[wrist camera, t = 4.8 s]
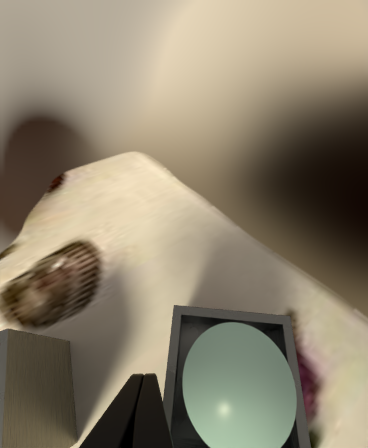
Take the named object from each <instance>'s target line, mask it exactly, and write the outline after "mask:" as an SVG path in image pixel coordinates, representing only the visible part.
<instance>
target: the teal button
mask: <svg viewBox="0 0 368 448" xmlns="http://www.w3.org/2000/svg"><path fill="white" fill-rule="evenodd" d="M182 386H183V396H184V402H185V406H186V409H187V413H188V415H189V418H190V420H191V422H192V424H193V426H194V428H195V430H196V431H197V433H198V434H199V435H200V437H201V438H202V439H203V441H204V442H205V443H206V444H207V445H208V446H209V447H210V448H281V447H282V445H283V444H284V443H285V442H286V440H287V438H288V436H289V435H290V432H291V430H292V427H293V424H294V420H295V416H296V408H297V397H296V388H295V383H294V379H293V375H292V372H291V370H290V367H289V365H288V363H287V361H286V359H285V357H284V355H283V354H282V352H281V351H280V349H279V348H278V347H277V346H276V345H275V343H274V342H273V341H272V340H271V339H270V338H269V337H268V336H266V335H265V334H264V333H262V332H261V331H259V330H257V329H256V328H254V327H251V326H249V325H246V324H242V323H236V322H228V323H222V324H218V325H216V326H213V327H211V328H209V329H208V330H206V331H205V332H204V333H203V334H201V335H200V336H199V338H198V339H197V340H196V341H195V342H194V344H193V345H192V347H191V349H190V351H189V353H188V356H187V358H186V361H185V365H184V370H183V383H182Z"/></svg>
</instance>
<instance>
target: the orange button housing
mask: <svg viewBox="0 0 368 448" xmlns="http://www.w3.org/2000/svg"><path fill="white" fill-rule="evenodd" d="M75 443H77V431H76V419H75V407H74V394H73V382H72V370H71V358H70V346H69V341H66V340H61V339H56V338H51V337H47V336H42V335H37V334H32V333H27V332H22V331H17V330H13V329H5V330H3V331H0V448H70V447H71V446H73V445H74V444H75Z"/></svg>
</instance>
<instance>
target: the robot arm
mask: <svg viewBox="0 0 368 448" xmlns="http://www.w3.org/2000/svg"><path fill="white" fill-rule="evenodd" d="M79 448H174V447H173V443H172V439H171V434H170V430H169V426H168V422H167V418H166V414H165V409H164V405H163V401H162V397H161V393H160V388H159V384H158V380H157V376H156V374H155V373H148V374H145V375H144V374H133V375H131V377H130V378H129V379H128V381H127V382H126V383H125V385H124V386H123V388H122V389H121V390H120V392H119V393H118V394H117V396H116V397H115V399H114V400H113V401H112V403H111V404H110V406H109V407H108V408H107V410H106V411H105V412H104V414H103V415H102V417H101V418H100V419H99V421H98V422H97V423H96V425H95V426H94V428H93V429H92V430H91V432H90V433H89V435H88V436H87V437H86V439H85V440H84V441H83V443H82V444H81V446H80V447H79Z"/></svg>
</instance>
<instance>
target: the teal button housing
mask: <svg viewBox="0 0 368 448" xmlns="http://www.w3.org/2000/svg"><path fill="white" fill-rule="evenodd" d="M228 322H236V323H242V324H246V325H249V326H251V327H254V328H256V329H257V330H259V331H261V332H262V333H264V334H265V335H266V336H268V337H269V338H270V339H271V340H272V341H273V342H274V343H275V345H276V346H277V347H278V348H279V349H280V351H281V352H282V354H283V355H284V357H285V359H286V361H287V363H288V365H289V367H290V370H291V372H292V375H293V379H294V383H295V388H296V397H297V408H296V416H295V420H294V424H293V427H292V430H291V432H290V435H289V436H288V438H287V440H286V442H285V443H284V444H283V445H282V447H281V448H311V446H310V439H309V433H308V427H307V420H306V414H305V407H304V401H303V395H302V388H301V382H300V376H299V369H298V363H297V356H296V350H295V344H294V337H293V331H292V325H291V318H290V316H283V315H273V314H262V313H252V312H241V311H231V310H220V309H210V308H199V307H189V306H178V305H174V309H173V318H172V327H171V336H170V345H169V353H168V362H167V371H166V380H165V389H164V397H163V405H164V409H165V414H166V418H167V422H168V426H169V430H170V434H171V439H172V443H173V447H174V448H210V447H209V446H208V445H207V444H206V443H205V442H204V441H203V439H202V438H201V437H200V435H199V434H198V433H197V431H196V430H195V428H194V426H193V424H192V422H191V420H190V418H189V415H188V413H187V409H186V406H185V402H184V396H183V386H182V383H183V370H184V365H185V361H186V358H187V356H188V353H189V351H190V349H191V347H192V345H193V344H194V342H195V341H196V340H197V339H198V338H199V336H200V335H201V334H203V333H204V332H205V331H206V330H208V329H209V328H211V327H213V326H216V325H218V324H222V323H228Z"/></svg>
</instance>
